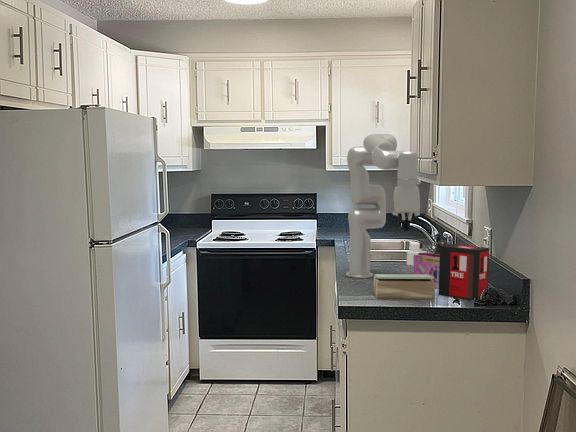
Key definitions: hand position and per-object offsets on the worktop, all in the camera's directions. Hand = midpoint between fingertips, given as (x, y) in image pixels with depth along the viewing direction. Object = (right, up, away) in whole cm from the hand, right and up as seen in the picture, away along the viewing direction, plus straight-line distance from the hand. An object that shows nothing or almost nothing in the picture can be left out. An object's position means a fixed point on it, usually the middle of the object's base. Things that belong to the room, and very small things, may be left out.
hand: (405, 230), depth 237 cm
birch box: (0, -26, +5) cm, 27 cm away
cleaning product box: (+24, -27, +5) cm, 36 cm away
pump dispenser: (+29, -22, +59) cm, 69 cm away
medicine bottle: (+20, -20, +76) cm, 81 cm away
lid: (0, -19, +4) cm, 19 cm away
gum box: (+20, -25, +22) cm, 39 cm away
